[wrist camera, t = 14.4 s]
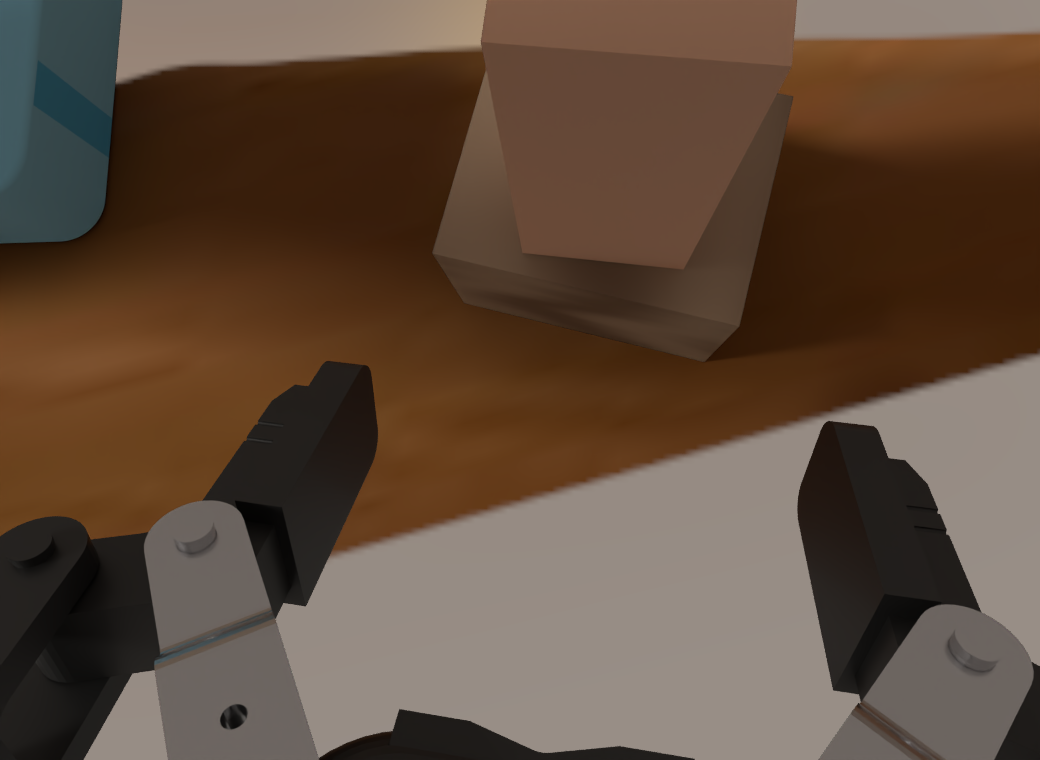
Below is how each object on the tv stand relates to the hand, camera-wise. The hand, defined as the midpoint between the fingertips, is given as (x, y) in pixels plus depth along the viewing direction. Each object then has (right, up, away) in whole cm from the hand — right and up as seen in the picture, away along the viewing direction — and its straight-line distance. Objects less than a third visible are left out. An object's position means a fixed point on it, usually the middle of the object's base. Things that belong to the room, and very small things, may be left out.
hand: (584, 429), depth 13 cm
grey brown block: (+2, +6, +14) cm, 15 cm away
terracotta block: (+2, +7, +8) cm, 10 cm away
